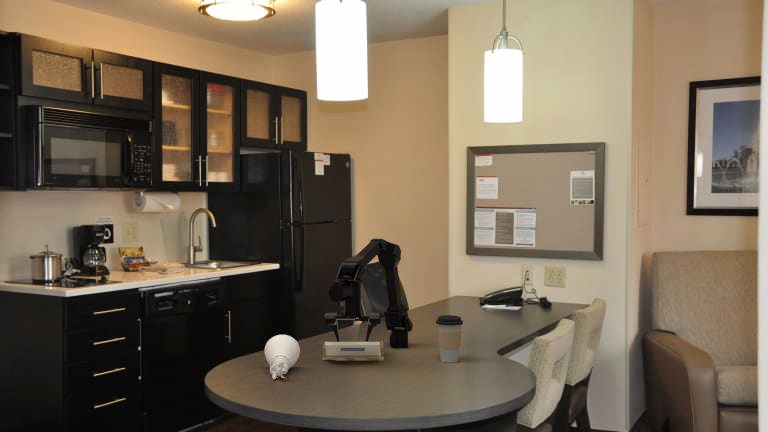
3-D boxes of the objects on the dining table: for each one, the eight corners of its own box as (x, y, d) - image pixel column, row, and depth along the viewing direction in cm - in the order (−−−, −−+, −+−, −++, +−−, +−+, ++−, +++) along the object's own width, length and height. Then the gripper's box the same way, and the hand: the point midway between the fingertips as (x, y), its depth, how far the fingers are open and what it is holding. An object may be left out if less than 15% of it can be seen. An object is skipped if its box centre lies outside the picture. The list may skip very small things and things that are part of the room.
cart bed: (382, 352, 260) (382, 340, 260) (383, 360, 248) (383, 348, 248) (324, 352, 260) (324, 341, 260) (322, 360, 248) (322, 348, 247)
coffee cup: (465, 358, 251) (465, 315, 250) (459, 364, 242) (459, 320, 241) (439, 356, 254) (439, 314, 253) (432, 362, 245) (432, 318, 244)
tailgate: (379, 355, 247) (379, 341, 240) (379, 359, 246) (379, 346, 239) (326, 355, 247) (325, 341, 240) (326, 359, 246) (325, 346, 239)
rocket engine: (280, 351, 218) (283, 327, 235) (251, 374, 219) (257, 349, 237) (305, 377, 221) (307, 352, 238) (277, 400, 222) (280, 373, 239)
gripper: (380, 293, 249) (380, 338, 250) (326, 293, 249) (326, 338, 250) (380, 299, 238) (380, 346, 239) (324, 299, 238) (324, 346, 238)
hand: (352, 343), depth 242 cm, fingers open, 9 cm apart
